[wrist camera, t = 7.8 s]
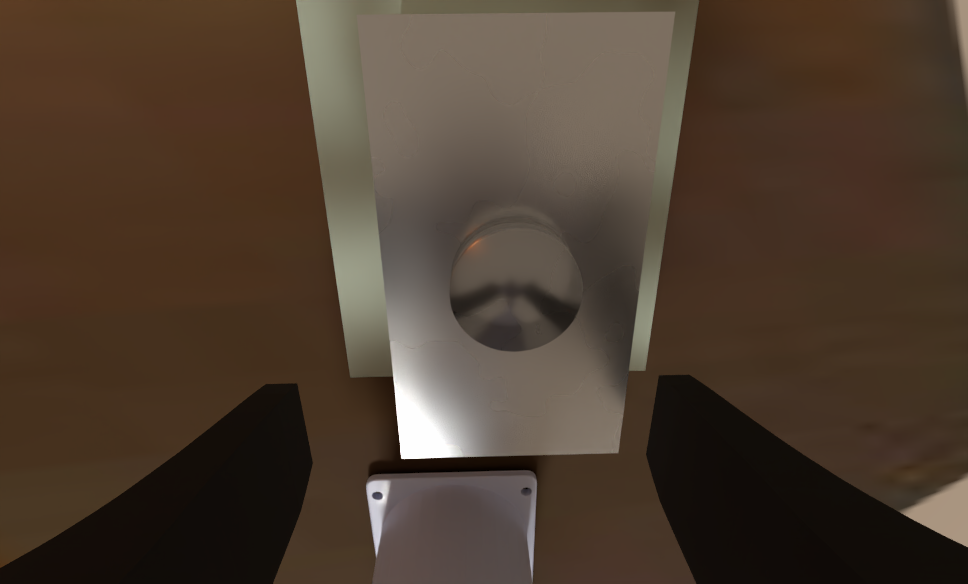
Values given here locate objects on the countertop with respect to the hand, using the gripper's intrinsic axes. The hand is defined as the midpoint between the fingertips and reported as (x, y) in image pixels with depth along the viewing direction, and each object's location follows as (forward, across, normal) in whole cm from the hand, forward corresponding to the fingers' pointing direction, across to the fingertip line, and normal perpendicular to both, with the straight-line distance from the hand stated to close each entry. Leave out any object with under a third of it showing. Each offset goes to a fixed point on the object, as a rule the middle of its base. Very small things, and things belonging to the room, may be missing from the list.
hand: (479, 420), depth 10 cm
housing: (+6, -1, -3) cm, 7 cm away
